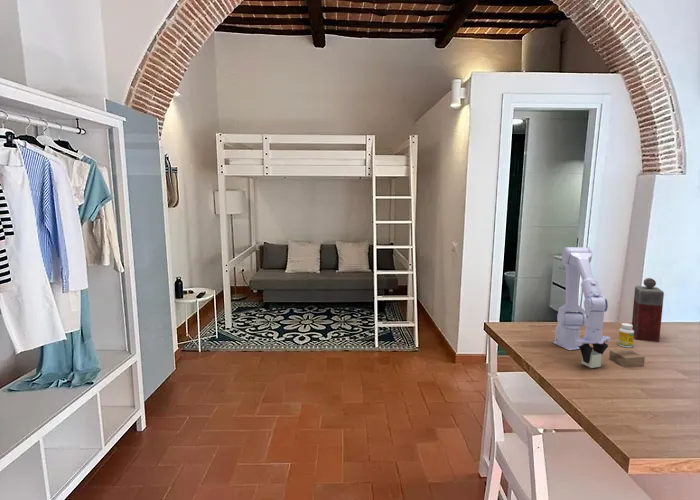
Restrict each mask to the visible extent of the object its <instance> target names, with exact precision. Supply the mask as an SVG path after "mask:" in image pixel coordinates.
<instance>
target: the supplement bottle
mask: <svg viewBox="0 0 700 500" xmlns="http://www.w3.org/2000/svg"><path fill="white" fill-rule="evenodd" d="M632 328H633V325H632V323H627V322H624V323H623V322H622V323H621V326H620V328H619V330H618V340H617V341H618V345H619V346H620V347H623V348H626V349H628V348H629V349H630V348H633V347H634V339H635V338H634V331H633V330H632Z"/></svg>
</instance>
